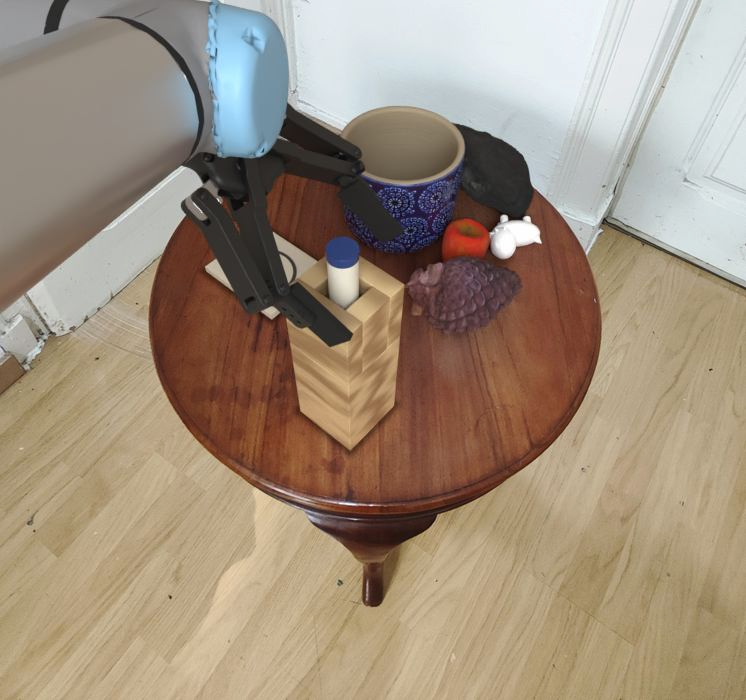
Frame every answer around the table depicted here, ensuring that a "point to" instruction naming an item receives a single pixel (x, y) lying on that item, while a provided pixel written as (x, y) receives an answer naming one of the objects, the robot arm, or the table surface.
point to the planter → (408, 173)
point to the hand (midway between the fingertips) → (369, 285)
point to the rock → (495, 173)
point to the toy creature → (512, 236)
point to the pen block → (350, 355)
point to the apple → (465, 240)
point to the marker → (343, 271)
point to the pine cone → (462, 293)
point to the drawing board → (291, 260)
